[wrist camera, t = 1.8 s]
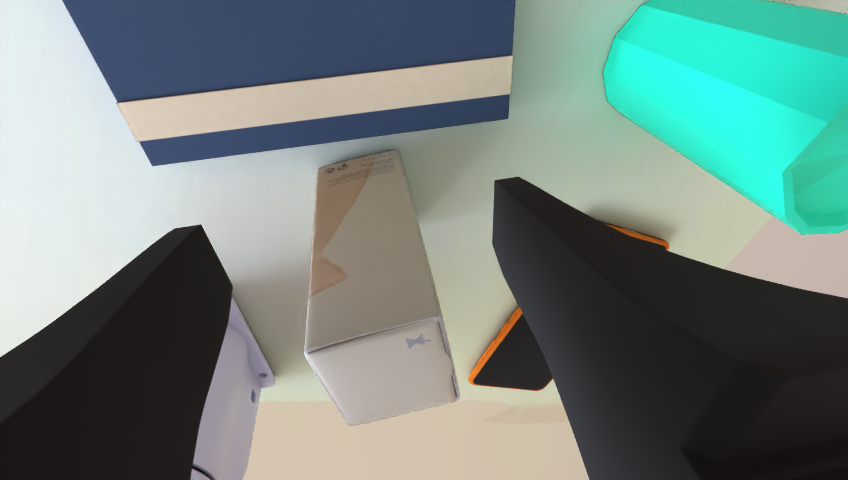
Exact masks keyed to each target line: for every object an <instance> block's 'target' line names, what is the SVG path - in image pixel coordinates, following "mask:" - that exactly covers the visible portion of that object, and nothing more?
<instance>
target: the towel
mask: <svg viewBox="0 0 848 480" xmlns="http://www.w3.org/2000/svg"><path fill="white" fill-rule="evenodd" d="M62 1H63V2H64V4H65V6H66V8H67V10H68V12H69V13H70V15H71V17H72V19H73V21H74V23H75V25H76V26H77V28H78V30H79V32H80V34H81V36H82V37H83V39H84V41H85V43H86V45H87V47H88V48H89V50H90V52H91V54H92V56H93V58H94V59H95V61H96V63H97V65H98V67H99V69H100V71H101V72H102V74H103V76H104V78H105V80H106V82H107V83H108V85H109V87H110V89H111V91H112V93H113V94H114V96H115V98H116V100H117V102H118V103H116V104H117V106H118V108H119V109H120V111H121V113H122V115H123V117H124V119H125V120H126V122H127V124H128V126H129V128H130V130H131V131H132V133H133V135H134V137H135V139H136V140H137V142H140V144H141V146H142V148H143V150H144V152H145V153H146V155H147V157H148V159H149V161H150V163H151V164H152V166H157V165H165V164H172V163H180V162H187V161H195V160H202V159H210V158H217V157H225V156H232V155H240V154H247V153H255V152H262V151H270V150H277V149H285V148H292V147H300V146H307V145H315V144H322V143H330V142H337V141H345V140H352V139H360V138H367V137H375V136H382V135H390V134H397V133H405V132H412V131H420V130H428V129H435V128H443V127H450V126H458V125H465V124H473V123H480V122H488V121H495V120H503V119H508V113H509V97H510V94H511V82H512V66H513V55H512V47H513V31H514V14H515V0H62Z"/></svg>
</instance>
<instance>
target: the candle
mask: <svg viewBox="0 0 848 480" xmlns="http://www.w3.org/2000/svg"><path fill="white" fill-rule="evenodd" d="M603 78H604V84H605V90H606V97H607V101H608V102H609V103H610V104H611V105H612V106H613V107H614V108H616V109H617V110H618V111H619V112H620V113H621V114H622V115H624V116H625V117H626V118H627V119H629V120H630V121H632V122H633V123H635V124H636V125H638V126H639V127H641V128H642V129H644V130H645V131H647V132H648V133H650V134H651V135H653V136H655V137H656V138H658V139H659V140H661V141H662V142H664V143H665V144H667V145H668V146H670V147H671V148H673V149H674V150H676V151H677V152H679V153H680V154H682V155H683V156H685V157H686V158H688V159H689V160H691V161H692V162H694V163H695V164H697V165H698V166H700V167H701V168H703V169H704V170H706V171H707V172H709V173H710V174H712V175H713V176H715V177H716V178H718V179H719V180H721V181H722V182H724V183H725V184H727V185H728V186H730V187H731V188H733V189H734V190H736V191H737V192H739V193H740V194H742V195H743V196H745V197H746V198H748V199H749V200H751V201H752V202H754V203H755V204H757V205H758V206H760V207H761V208H763V209H764V210H766V211H767V212H769V213H770V214H772V215H773V216H775V217H776V218H778V219H779V220H781V221H782V222H784V223H785V224H787V225H788V226H790V227H791V228H793V229H794V230H796V231H797V232H799V233H800V234H802V235H805V234H825V233H840V232H842V231H844V230H846V229H848V14H846V13H840V12H834V11H828V10H822V9H816V8H810V7H804V6H798V5H792V4H787V3H781V2H775V1H769V0H650V1H648V2H646V3H645V4H643V5H641V6H640V7H639V9H638V10H637V11H636V12H635V13H634V15H633V16H632V17H631V18H630V19H629V21H628V22H627V23H626V24H625V25H624V27H623V28H622V29H621V30H620V31H619V33H618V34H617V35H616V36H615V37H614V40H613V43H612V46H611V49H610V52H609V55H608V58H607V61H606V64H605V67H604V70H603Z"/></svg>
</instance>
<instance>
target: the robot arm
mask: <svg viewBox="0 0 848 480" xmlns="http://www.w3.org/2000/svg"><path fill="white" fill-rule="evenodd" d="M492 244H493V247H494V250H495V253H496V256H497V259H498V262H499V265H500V268H501V270H502V273H503V276H504V278H505V280H506V282H507V284H508V286H509V288H510V290H511V292H512V294H513V296H514V298H515V299H516V301H517V303H518V305H519V307H520V309H521V311H522V313H523V315H524V317H525V319H526V321H527V323H528V325H529V326H530V328H531V330H532V332H533V334H534V336H535V338H536V340H537V342H538V344H539V346H540V348H541V350H542V352H543V355H544V357H545V359H546V361H547V364H548V366H549V369H550V372H551V374H552V377H553V379H554V382H555V384H556V387H557V390H558V392H559V395H560V397H561V400H562V403H563V406H564V408H565V411H566V414H567V416H568V419H569V422H570V425H571V427H572V430H573V433H574V435H575V439H576V441H577V444H578V447H579V450H580V453H581V456H582V459H583V462H584V465H585V468H586V471H587V474H588V476H589V479H590V480H848V298H843V297H838V296H833V295H828V294H823V293H818V292H812V291H807V290H802V289H798V288H794V287H789V286H785V285H782V284H777V283H773V282H769V281H765V280H761V279H757V278H753V277H749V276H746V275H742V274H739V273H735V272H731V271H728V270H724V269H721V268H718V267H715V266H711V265H708V264H705V263H702V262H699V261H696V260H693V259H689V258H686V257H683V256H681V255H678V254H675V253H672V252H669V251H667V250H664V249H661V248H659V247H656V246H654V245H651V244H649V243H646V242H644V241H641V240H639V239H636V238H634V237H632V236H629V235H627V234H625V233H623V232H620V231H618V230H616V229H614V228H612V227H610V226H608V225H606V224H604V223H602V222H600V221H598V220H596V219H594V218H592V217H590V216H588V215H586V214H584V213H582V212H580V211H579V210H577V209H575V208H573V207H571V206H570V205H568V204H566V203H564V202H562V201H561V200H559V199H557V198H555V197H554V196H552V195H550V194H549V193H547V192H545V191H543V190H542V189H540V188H538V187H536V186H535V185H533V184H531V183H529V182H528V181H526V180H524V179H522V178H520V177H514V178H507V179H500V180H495V185H494V212H493V238H492ZM232 290H233V286H232V284H231V282H230V280H229V278H228V276H227V274H226V272H225V270H224V268H223V266H222V264H221V262H220V260H219V258H218V256H217V254H216V253H215V251H214V249H213V247H212V245H211V243H210V241H209V239H208V237H207V235H206V233H205V231H204V229H203V227H202V225H195V226H189V227H182V228H176V229H173V230H172V231H170V232H169V233H167V234H166V235H164V236H163V237H162V238H160V239H159V240H158V241H156V242H155V243H154V244H152V245H151V246H150V247H149V248H147V249H146V250H145V251H143V252H142V253H141V254H140V255H138V256H137V257H136V258H135V259H134V260H132V261H131V262H130V263H129V264H127V265H126V266H125V267H124V268H122V269H121V270H120V271H119V272H117V273H116V274H115V275H114V276H112V277H111V278H110V279H109V280H107V281H106V282H105V283H104V284H102V285H101V286H100V287H99V288H97V289H96V290H95V291H93V292H92V293H91V294H89V295H88V296H87V297H85V298H84V299H83V300H81V301H80V302H79V303H77V304H76V305H75V306H73V307H72V308H71V309H69V310H68V311H67V312H65V313H64V314H63V315H61V316H60V317H59V318H57V319H56V320H55V321H53V322H52V323H51V324H49V325H48V326H46V327H45V328H44V329H42V330H41V331H39V332H38V333H36V334H35V335H33V336H32V337H30V338H29V339H28V340H26V341H25V342H23V343H21V344H20V345H18V346H17V347H15V348H14V349H12V350H11V351H9V352H8V353H6V354H5V355H3V356H2V357H0V480H243V478H244V475H245V472H246V469H247V465H248V460H249V455H250V449H251V443H252V438H253V432H254V426H255V420H256V415H257V409H258V403H259V397H260V392H261V388H266V387H271V386H273V385H274V384H275V377H274V375H273V373H272V371H271V369H270V367H269V365H268V363H267V361H266V359H265V357H264V356H263V354H262V352H261V350H260V348H259V346H258V344H257V342H256V340H255V338H254V336H253V334H252V333H251V331H250V329H249V327H248V325H247V323H246V321H245V319H244V317H243V315H242V313H241V311H240V310H239V308H238V306H237V304H236V302H235V300H234V298H233V296H232Z"/></svg>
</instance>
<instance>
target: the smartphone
mask: <svg viewBox="0 0 848 480" xmlns="http://www.w3.org/2000/svg"><path fill="white" fill-rule="evenodd" d="M598 221H599V220H598ZM600 222H602V221H600ZM602 223H604V224H606V225H608V226H610V227H612V228H614V229H616V230H618V231H620V232H623V233H625V234H627V235H629V236H632V237H634V238H636V239H639V240H641V241H644V242H646V243H649V244H651V245H654V246H656V247H659V248H661V249H664V250H667V251H668V249H669V244H668V242H666V241H665V240H663V239H660V238H656V237H653V236H649V235H646V234H643V233H639V232H636V231H632V230H629V229H625V228H622V227H619V226H616V225H612V224H609V223H606V222H602ZM552 379H553V377H552V374H551V372H550V369H549V366H548V364H547V361H546V359H545V357H544V355H543V352H542V350H541V348H540V346H539V344H538V342H537V340H536V338H535V336H534V334H533V332H532V330H531V328H530V326H529V325H528V323H527V321H526V319H525V317H524V315H523V313H522V311H521V309H520V307H519V306H518V308H517V309H516V311H515V312H514V313H513V315H512V316H511V318H510V319H509V320H508V321H507V322H506V323H505V325H504V326H503V328H502V329H501V330H500V332H499V334H498V336H497V337H496V338H495V340H493V341H492V343H491V344H490V346H489V347H488V348H487V350H486V351H485V353H484V354H483V355H482V357H481V358H480V360H479V361H478V364H477V365H476V366H475V368H474V369H473V370H472V372H471V373H470V375H469V377H468V380H469V383H471V384H473V385H479V386H490V387H500V388H511V389H521V390H532V391H539V390H542V389H544V388H545V387H546V386H547V385H548V384H549V382H550V381H551V380H552Z"/></svg>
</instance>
